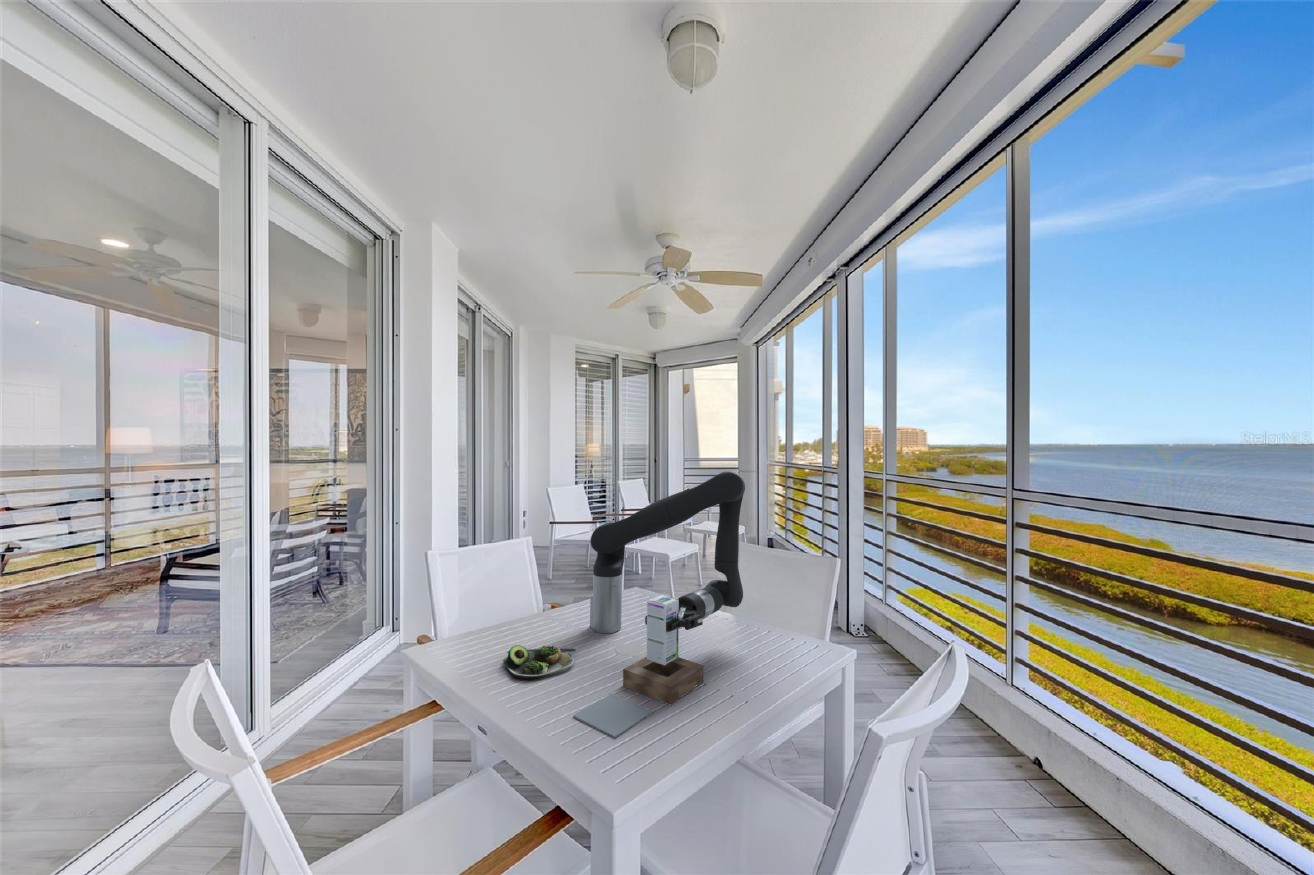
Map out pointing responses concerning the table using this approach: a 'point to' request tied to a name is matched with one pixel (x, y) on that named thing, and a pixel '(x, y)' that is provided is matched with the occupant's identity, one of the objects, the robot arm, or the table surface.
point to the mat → (613, 715)
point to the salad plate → (536, 661)
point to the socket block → (663, 678)
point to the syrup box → (662, 629)
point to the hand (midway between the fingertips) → (657, 624)
